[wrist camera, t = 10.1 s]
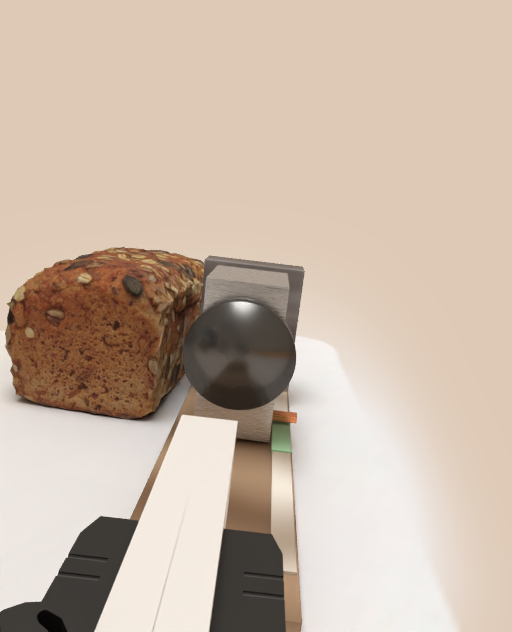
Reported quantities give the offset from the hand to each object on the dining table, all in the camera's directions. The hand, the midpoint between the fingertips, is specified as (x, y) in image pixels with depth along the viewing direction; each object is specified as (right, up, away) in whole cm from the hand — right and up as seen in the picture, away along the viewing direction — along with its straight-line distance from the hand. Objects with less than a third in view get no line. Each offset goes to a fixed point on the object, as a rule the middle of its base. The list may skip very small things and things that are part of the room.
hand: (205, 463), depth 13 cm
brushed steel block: (0, -2, +16) cm, 16 cm away
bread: (-9, -1, +26) cm, 28 cm away
